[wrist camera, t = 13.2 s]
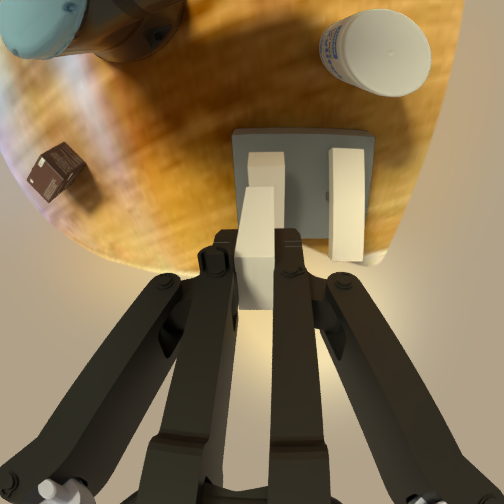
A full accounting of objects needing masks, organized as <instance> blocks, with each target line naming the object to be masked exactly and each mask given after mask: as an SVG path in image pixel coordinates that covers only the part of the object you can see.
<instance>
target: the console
mask: <svg viewBox="0 0 504 504" xmlns="http://www.w3.org/2000/svg"><path fill="white" fill-rule="evenodd" d="M374 146H375V137H374V136H373V135H372V134H371V133H369V132H368V131H367V130H352V129H334V128H299V127H271V128H236V129H234V131H233V133H232V147H233V161H234V175H235V189H236V202H237V216H238V229H239V225H240V219H241V214H242V208H243V202H244V197H245V191H246V187H249V180H248V168H247V166H248V156H249V152H284V160H285V198H284V228H295V229H296V230H297V231H298V232H299V233H300V235H301V239H329V153H328V151H329V150H330V149H332V148H349V149H364V170H365V217H364V227H365V220H366V214H367V207H368V199H369V192H370V184H371V175H372V166H373V157H374Z"/></svg>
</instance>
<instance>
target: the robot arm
mask: <svg viewBox="0 0 504 504" xmlns="http://www.w3.org/2000/svg"><path fill="white" fill-rule="evenodd" d="M184 1H187V0H1V3H0V34H1V38H2V40H3V42H4V44H5V46H6V47H7V49H8V50H9V51H10V52H11V53H12V54H14V55H15V56H18V57H21V58H23V59H41V60H44V59H45V60H47V59H52V58H54V57H59V56H66V55H74V54H83V53H94V54H95V55H96V56H98V57H99V58H101V59H104V60H107V61H111V62H120V63H121V62H132V61H138V60H141V59H144V58H146V57H149V56H151V55H152V54H154V53H156V52H157V51H159V50H160V49H161V48H162V47H164V46H165V45H166V44H167V43H168V42H169V40H170V39H171V38H172V37H173V35H174V34H175V32H176V31H177V29H178V27H179V24H180V22H181V19H182V15H183V2H184ZM197 256H198V262H199V267H200V275H199V276H197V277H194V278H191V279H186V280H182V281H181V280H180V277H179V276H178V275H176V274H173V273H164V274H160V275H158V276H155V277H154V278H153V279H152V280H151V281H150V282H149V283H148V285H147V286H146V287H145V288H144V289H143V291H142V292H141V293H140V295H139V296H138V297H137V298H136V300H135V301H134V302H133V304H132V305H131V306H130V307H129V309H128V310H127V311H126V313H125V314H124V315H123V316H122V318H121V319H120V320H119V322H118V323H117V324H116V326H115V327H114V328H113V330H112V331H111V332H110V334H109V335H108V336H107V338H106V339H105V340H104V342H103V343H102V344H101V346H100V347H99V348H98V350H97V351H96V353H95V354H94V355H93V357H92V358H91V360H90V361H89V362H88V363H87V365H86V366H85V368H84V369H83V371H82V372H81V373H80V375H79V376H78V378H77V379H76V380H75V382H74V383H73V385H72V386H71V388H70V389H69V390H68V392H67V393H66V395H65V396H64V398H63V399H62V401H61V402H60V404H59V405H58V407H57V408H56V410H55V411H54V413H53V414H52V416H51V417H50V419H49V420H48V422H47V423H46V425H45V426H44V428H43V429H42V431H41V432H40V434H39V436H38V437H37V438H36V439H35V440H33V441H32V442H31V443H30V444H28V445H27V446H26V447H25V448H23V449H22V450H21V451H20V452H18V453H17V454H16V455H15V456H13V457H12V458H11V459H10V460H8V461H7V462H6V463H5V464H3V465H2V466H1V467H0V495H1V497H2V498H3V499H5V500H6V501H8V502H10V503H12V504H96V502H95V499H94V496H96V495H97V494H98V493H99V492H100V490H101V489H102V488H103V487H104V485H105V484H106V483H107V481H108V480H109V478H110V477H111V475H112V474H113V472H114V470H115V468H116V466H117V464H118V463H119V461H120V459H121V457H122V455H123V453H124V452H125V450H126V448H127V446H128V444H129V442H130V441H131V439H132V437H133V435H134V433H135V432H136V430H137V428H138V426H139V424H140V423H141V421H142V419H143V417H144V415H145V413H146V412H147V410H148V408H149V406H150V405H151V403H152V401H153V399H154V397H155V395H156V394H157V392H158V390H159V388H160V386H161V385H162V383H163V381H164V379H165V377H166V376H167V374H168V372H169V370H170V369H171V367H172V365H173V363H174V361H175V360H176V358H177V361H176V364H175V368H174V372H173V376H172V380H171V385H170V389H169V393H168V397H167V401H166V406H165V410H164V414H163V418H162V423H161V427H160V431H159V433H158V434H157V435H156V436H154V437H152V439H151V440H150V442H149V445H148V448H147V452H146V457H145V461H144V466H143V470H142V475H141V480H140V485H139V489H138V491H136V492H135V493H133V494H132V495H131V496H129V497H128V498H127V499H126V500H124V501H123V502H122V503H120V504H342V503H341V502H340V501H338V500H337V499H335V498H333V497H331V494H330V470H329V455H328V448H327V445H326V444H325V442H324V435H323V419H322V405H321V393H320V381H319V369H318V359H317V348H316V339H315V329H314V328H316V329H320V333H321V336H322V338H323V340H324V342H325V344H326V347H327V349H328V351H329V354H330V356H331V358H332V360H333V363H334V365H335V367H336V369H337V372H338V374H339V377H340V379H341V381H342V383H343V386H344V388H345V391H346V393H347V395H348V398H349V400H350V402H351V405H352V407H353V409H354V412H355V414H356V417H357V419H358V421H359V424H360V426H361V429H362V431H363V433H364V436H365V438H366V441H367V443H368V445H369V448H370V450H371V452H372V455H373V458H374V460H375V463H376V465H377V468H378V470H379V473H380V475H381V478H382V480H383V482H384V485H385V487H386V489H387V491H388V494H389V496H390V497H391V499H392V501H393V502H394V504H504V495H503V494H502V492H501V491H500V490H499V489H498V488H497V487H496V486H495V485H494V484H493V483H492V482H491V481H490V480H489V479H487V478H486V477H485V476H484V475H483V474H482V473H481V472H480V471H479V470H478V469H477V468H476V467H475V466H474V465H472V464H471V463H470V462H469V461H468V460H467V459H466V458H465V457H464V456H463V455H462V453H461V451H460V449H459V447H458V445H457V443H456V441H455V439H454V438H453V436H452V433H451V432H450V430H449V428H448V426H447V424H446V422H445V420H444V418H443V416H442V415H441V413H440V411H439V409H438V407H437V406H436V404H435V402H434V400H433V398H432V396H431V395H430V393H429V391H428V389H427V388H426V386H425V384H424V382H423V381H422V379H421V377H420V376H419V374H418V372H417V370H416V369H415V367H414V365H413V364H412V362H411V360H410V358H409V357H408V355H407V354H406V352H405V350H404V349H403V347H402V345H401V344H400V342H399V340H398V339H397V337H396V336H395V334H394V332H393V331H392V329H391V328H390V326H389V325H388V323H387V321H386V320H385V318H384V317H383V315H382V314H381V312H380V310H379V309H378V307H377V306H376V304H375V303H374V301H373V300H372V299H371V297H370V295H369V294H368V292H367V291H366V289H365V288H364V286H363V285H362V283H361V282H360V280H359V279H358V278H357V277H356V276H354V275H352V274H350V273H346V272H336V273H333V274H331V275H330V276H329V277H328V279H322V278H319V277H315V276H313V275H311V274H310V273H309V272H308V271H307V269H306V268H305V265H304V257H303V250H302V242H301V235H300V233H299V232H298V231H297V230H296V229H295V228H274V187H246V191H245V197H244V202H243V208H242V214H241V219H240V225H239V229H225V230H220V231H219V232H218V233H217V234H216V235H215V239H214V243H213V246H208V247H205V248H203V249H202V250H201V251H200V252H199V253H198V255H197ZM238 304H239V309H241V310H244V309H245V310H273V348H272V393H271V428H270V452H269V477H268V486H265V487H260V488H255V489H250V490H245V491H231V490H228V489H225V488H223V471H222V465H223V455H224V445H225V436H226V427H227V417H228V408H229V399H230V389H231V381H232V371H233V362H234V353H235V345H236V336H237V327H238Z"/></svg>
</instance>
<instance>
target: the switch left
mask: <svg viewBox="0 0 504 504" xmlns="http://www.w3.org/2000/svg"><path fill="white" fill-rule="evenodd" d="M247 168H248V180H249V187H274V228H284V198H285V160H284V152H249V156H248V166H247Z"/></svg>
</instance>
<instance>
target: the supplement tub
mask: <svg viewBox="0 0 504 504" xmlns="http://www.w3.org/2000/svg"><path fill="white" fill-rule="evenodd" d="M319 54H320V58H321V61H322V63H323V64H324V66H325V67H326V69H327V70H328V71H329V72H330V73H331V74H332V75H333V76H334V77H336V78H337V79H339V80H341V81H343V82H345V83H348V84H351V85H353V86H356V87H358V88H361V89H363V90H366V91H368V92H371V93H373V94H376V95H380V96H387V97H401V96H405V95H408V94H411V93H413V92H414V91H416V90H417V89H418V88H420V87H421V86H422V85H423V83H424V82H425V80H426V79H427V77H428V75H429V72H430V68H431V50H430V47H429V43H428V41H427V38H426V37H425V35H424V33H423V32H422V30H421V29H420V28H419V27H418V25H417V24H416V23H415V22H413V21H412V20H411V19H410V18H408V17H407V16H405V15H403V14H401V13H399V12H396V11H393V10H388V9H371V10H365V11H362V12H359V13H356V14H354V15H352V16H349V17H347V18H344V19H342V20H340V21H338V22H335V23H334V24H332V25H331V26H329V27H328V28H327V29H326V30H325V31H324V33H323V34H322V37H321V39H320V43H319Z"/></svg>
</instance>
